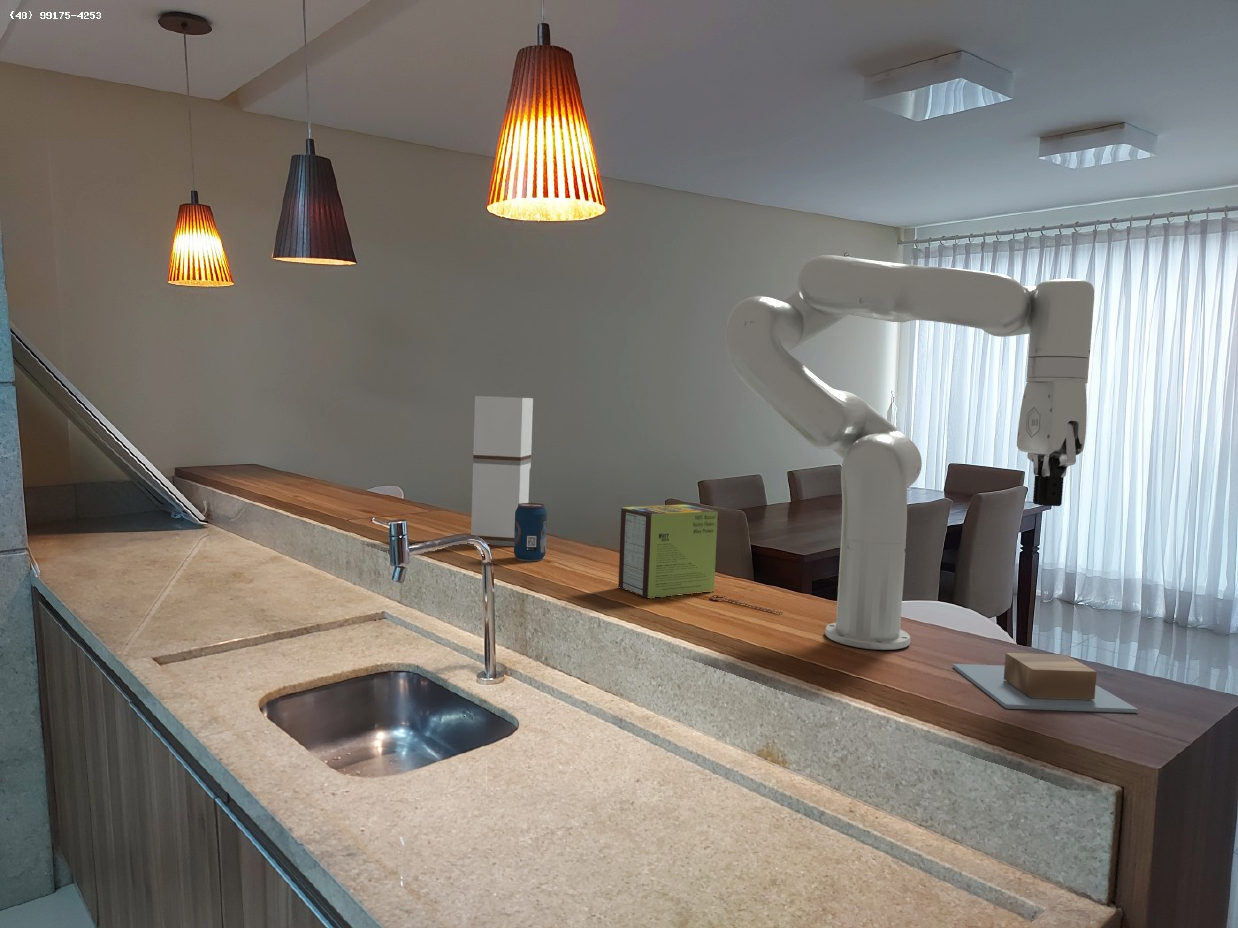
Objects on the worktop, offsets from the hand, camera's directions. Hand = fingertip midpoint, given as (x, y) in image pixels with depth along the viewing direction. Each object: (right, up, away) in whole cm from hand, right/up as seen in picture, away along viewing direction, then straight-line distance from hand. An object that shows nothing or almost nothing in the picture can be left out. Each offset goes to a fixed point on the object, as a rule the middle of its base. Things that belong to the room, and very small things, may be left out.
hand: (1046, 504), depth 119 cm
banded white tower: (-88, -13, +89) cm, 126 cm away
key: (-36, -20, +33) cm, 53 cm away
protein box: (-50, -18, +43) cm, 69 cm away
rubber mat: (-5, -24, -7) cm, 25 cm away
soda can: (-79, -15, +68) cm, 105 cm away
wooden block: (-5, -21, -6) cm, 22 cm away
